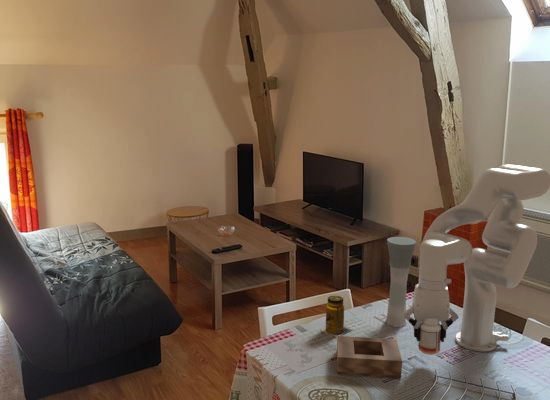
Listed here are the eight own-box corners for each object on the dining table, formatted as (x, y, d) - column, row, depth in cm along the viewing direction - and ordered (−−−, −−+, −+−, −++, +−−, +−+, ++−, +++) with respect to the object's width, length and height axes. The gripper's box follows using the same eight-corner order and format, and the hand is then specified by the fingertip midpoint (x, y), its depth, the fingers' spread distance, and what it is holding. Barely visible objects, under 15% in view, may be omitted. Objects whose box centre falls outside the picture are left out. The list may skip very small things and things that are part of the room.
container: (378, 323, 181) (382, 241, 175) (388, 314, 189) (393, 235, 182) (404, 331, 176) (409, 246, 170) (413, 321, 183) (419, 239, 177)
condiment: (320, 330, 176) (321, 297, 173) (336, 323, 181) (337, 291, 179) (336, 338, 170) (337, 304, 168) (352, 330, 176) (354, 297, 173)
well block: (395, 355, 159) (396, 339, 158) (400, 378, 147) (402, 361, 145) (336, 352, 161) (337, 335, 160) (337, 374, 149) (337, 356, 147)
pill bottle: (429, 343, 157) (431, 308, 155) (444, 352, 152) (446, 317, 149) (413, 348, 155) (415, 313, 152) (428, 357, 149) (429, 321, 147)
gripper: (460, 278, 151) (456, 334, 155) (399, 277, 153) (398, 332, 157) (466, 288, 144) (462, 346, 148) (403, 287, 146) (401, 345, 150)
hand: (429, 338), depth 153 cm, fingers closed on pill bottle, 6 cm apart
